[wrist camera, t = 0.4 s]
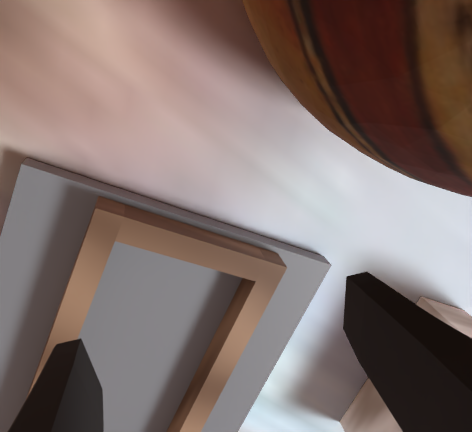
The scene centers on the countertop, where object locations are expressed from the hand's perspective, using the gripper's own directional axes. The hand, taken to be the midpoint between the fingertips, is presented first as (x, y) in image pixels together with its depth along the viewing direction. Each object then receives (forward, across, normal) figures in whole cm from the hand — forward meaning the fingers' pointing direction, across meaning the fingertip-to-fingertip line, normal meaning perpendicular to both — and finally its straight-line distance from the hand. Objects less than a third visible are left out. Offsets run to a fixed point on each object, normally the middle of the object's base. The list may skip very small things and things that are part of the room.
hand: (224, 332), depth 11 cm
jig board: (+9, +4, +10) cm, 14 cm away
